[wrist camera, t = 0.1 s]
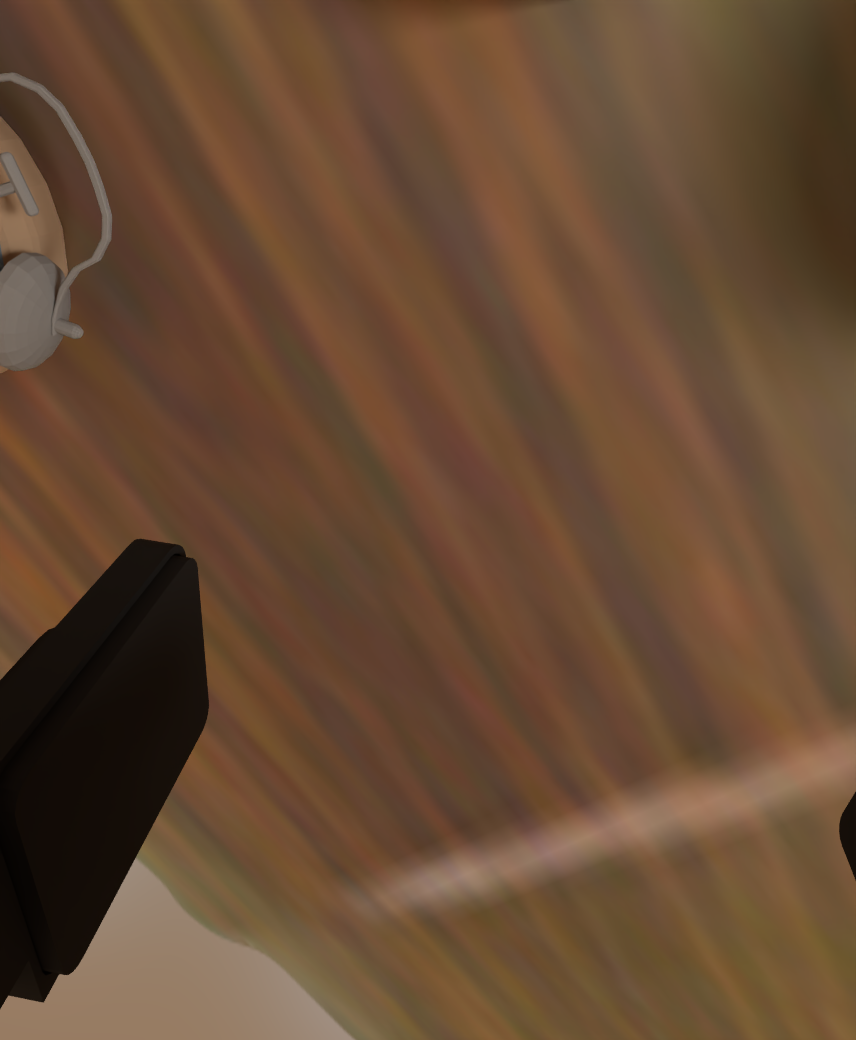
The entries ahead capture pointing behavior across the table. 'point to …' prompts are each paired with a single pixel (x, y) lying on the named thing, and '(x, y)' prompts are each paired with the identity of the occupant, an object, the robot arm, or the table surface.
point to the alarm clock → (37, 247)
